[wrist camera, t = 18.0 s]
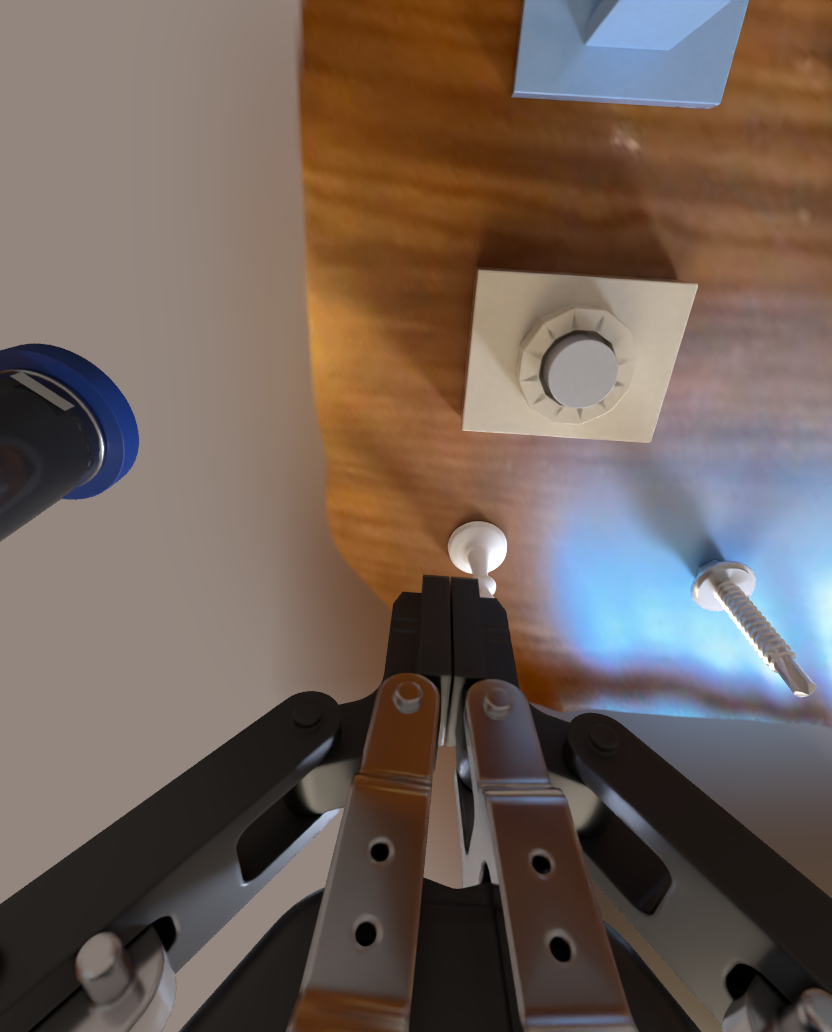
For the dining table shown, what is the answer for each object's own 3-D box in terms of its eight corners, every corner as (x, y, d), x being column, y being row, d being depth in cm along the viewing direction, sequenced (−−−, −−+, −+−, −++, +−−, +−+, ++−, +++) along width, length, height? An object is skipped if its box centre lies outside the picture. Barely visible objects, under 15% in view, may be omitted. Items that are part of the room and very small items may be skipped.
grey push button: (537, 398, 32) (542, 406, 30) (549, 331, 30) (555, 337, 29) (601, 402, 32) (608, 410, 30) (616, 336, 30) (626, 341, 28)
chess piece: (437, 554, 43) (435, 636, 34) (468, 511, 41) (475, 586, 32) (485, 578, 44) (496, 664, 35) (518, 537, 42) (538, 618, 33)
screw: (678, 597, 44) (685, 551, 42) (737, 592, 44) (746, 545, 41) (761, 723, 33) (775, 670, 31) (841, 719, 32) (862, 664, 30)
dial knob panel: (460, 418, 37) (462, 440, 33) (475, 266, 32) (480, 271, 28) (637, 430, 37) (660, 453, 33) (680, 279, 32) (713, 286, 28)
